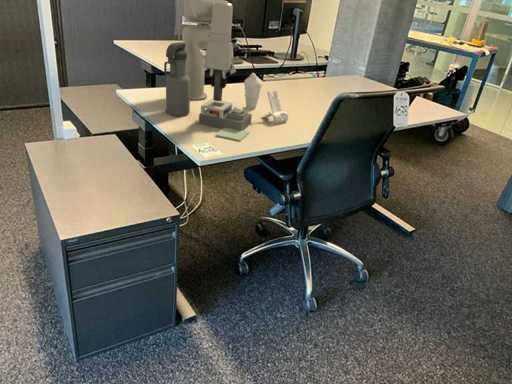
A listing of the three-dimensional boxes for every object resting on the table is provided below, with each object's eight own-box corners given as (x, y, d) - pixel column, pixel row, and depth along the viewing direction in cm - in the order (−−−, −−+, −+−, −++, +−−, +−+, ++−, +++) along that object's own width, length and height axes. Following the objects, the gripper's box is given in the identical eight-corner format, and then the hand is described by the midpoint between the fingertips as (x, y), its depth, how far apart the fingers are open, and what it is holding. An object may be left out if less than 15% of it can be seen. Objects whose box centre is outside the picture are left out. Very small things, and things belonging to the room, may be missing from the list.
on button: (232, 113, 167) (232, 108, 166) (235, 110, 170) (235, 106, 169) (240, 114, 166) (240, 110, 165) (243, 112, 169) (244, 107, 168)
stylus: (211, 100, 167) (213, 69, 161) (215, 98, 170) (216, 67, 164) (219, 101, 166) (221, 70, 161) (223, 99, 169) (224, 69, 163)
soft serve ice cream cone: (248, 103, 199) (251, 69, 192) (263, 107, 196) (267, 73, 188) (238, 107, 193) (241, 72, 185) (254, 111, 189) (257, 75, 182)
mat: (215, 136, 158) (215, 134, 158) (225, 128, 167) (225, 126, 167) (240, 141, 156) (240, 139, 156) (249, 133, 165) (249, 131, 164)
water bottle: (178, 118, 172) (179, 47, 158) (160, 112, 176) (159, 42, 162) (194, 113, 179) (196, 44, 166) (176, 107, 184) (177, 40, 170)
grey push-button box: (198, 123, 169) (199, 105, 165) (210, 115, 179) (211, 98, 175) (241, 132, 164) (242, 114, 161) (250, 123, 175) (252, 106, 171)
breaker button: (210, 117, 170) (210, 110, 169) (213, 114, 174) (214, 107, 172) (219, 119, 170) (219, 112, 168) (222, 116, 173) (222, 109, 171)
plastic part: (274, 125, 176) (278, 98, 171) (259, 117, 183) (262, 91, 177) (287, 122, 181) (291, 96, 175) (272, 115, 187) (275, 89, 182)
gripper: (196, 36, 156) (194, 85, 164) (238, 42, 152) (234, 92, 161) (204, 34, 162) (202, 81, 171) (245, 40, 158) (241, 88, 167)
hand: (218, 86), depth 166 cm, fingers closed on stylus, 3 cm apart
